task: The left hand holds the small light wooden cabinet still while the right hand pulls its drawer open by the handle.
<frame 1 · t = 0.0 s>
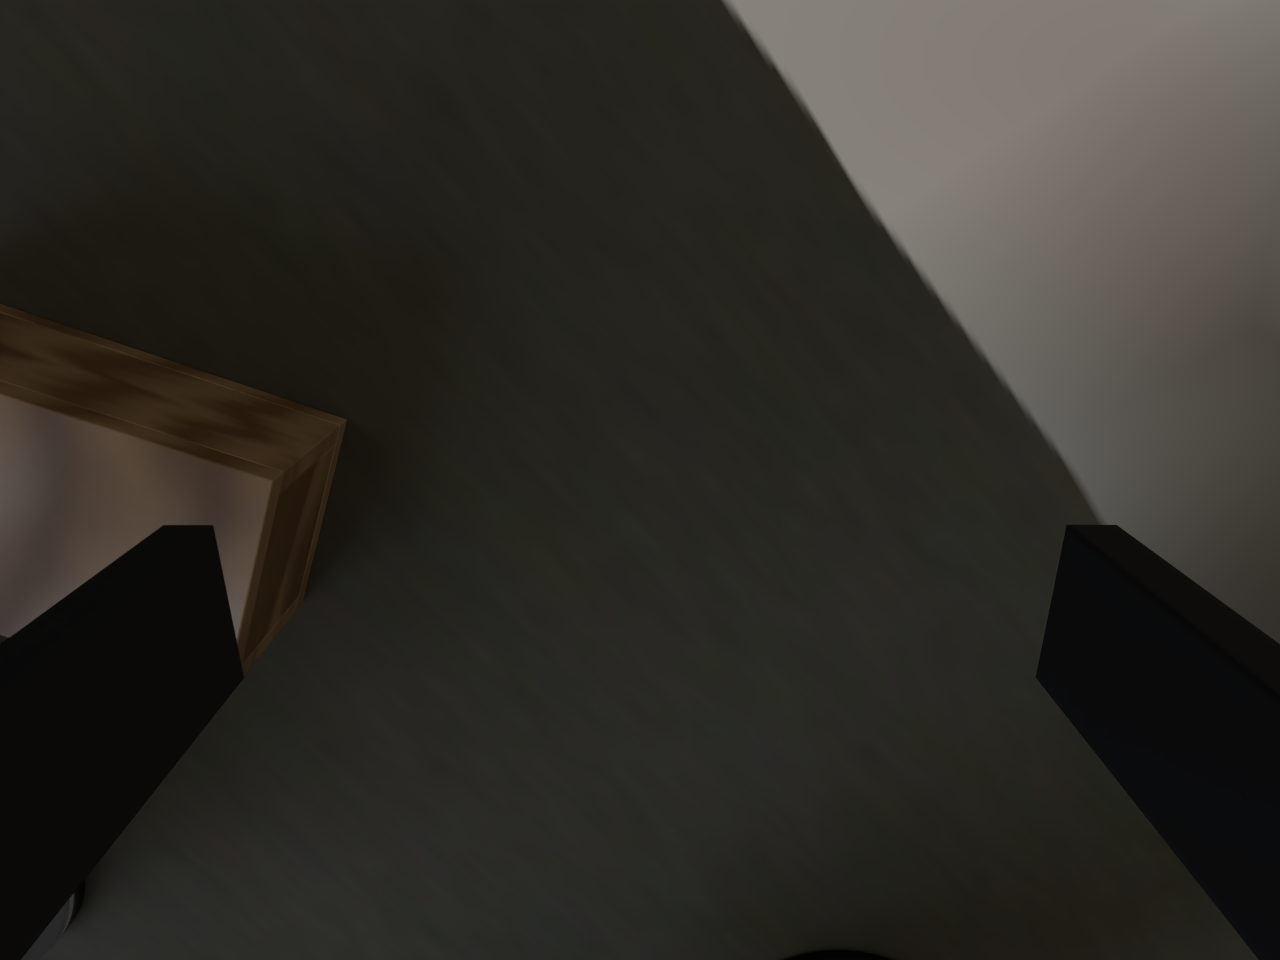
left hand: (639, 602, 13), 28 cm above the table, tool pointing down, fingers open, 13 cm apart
cabinet: (153, 460, 41), on the table
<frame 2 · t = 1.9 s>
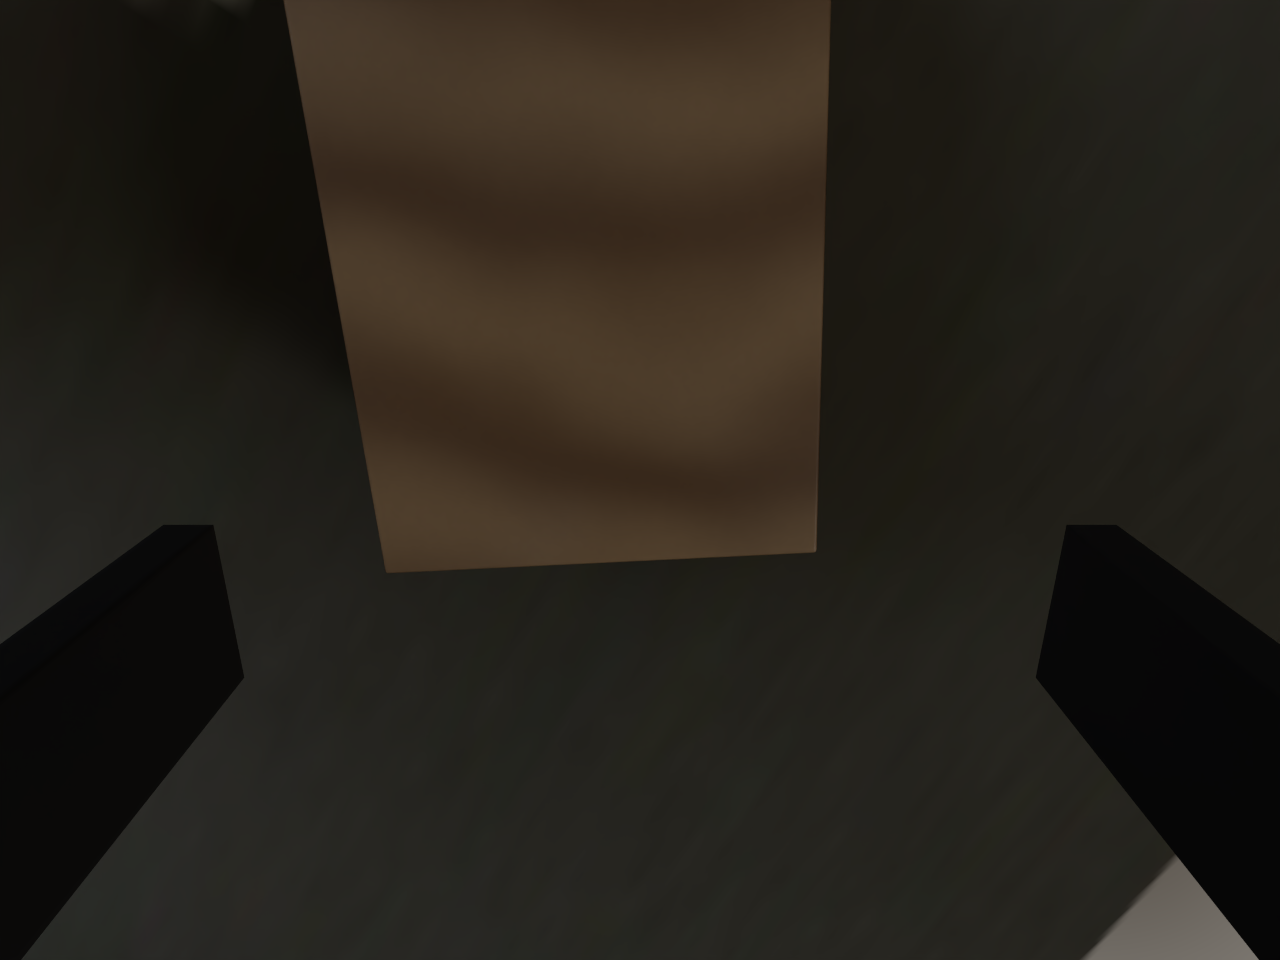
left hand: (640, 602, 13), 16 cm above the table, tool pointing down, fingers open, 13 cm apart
cabinet: (592, 194, 26), on the table
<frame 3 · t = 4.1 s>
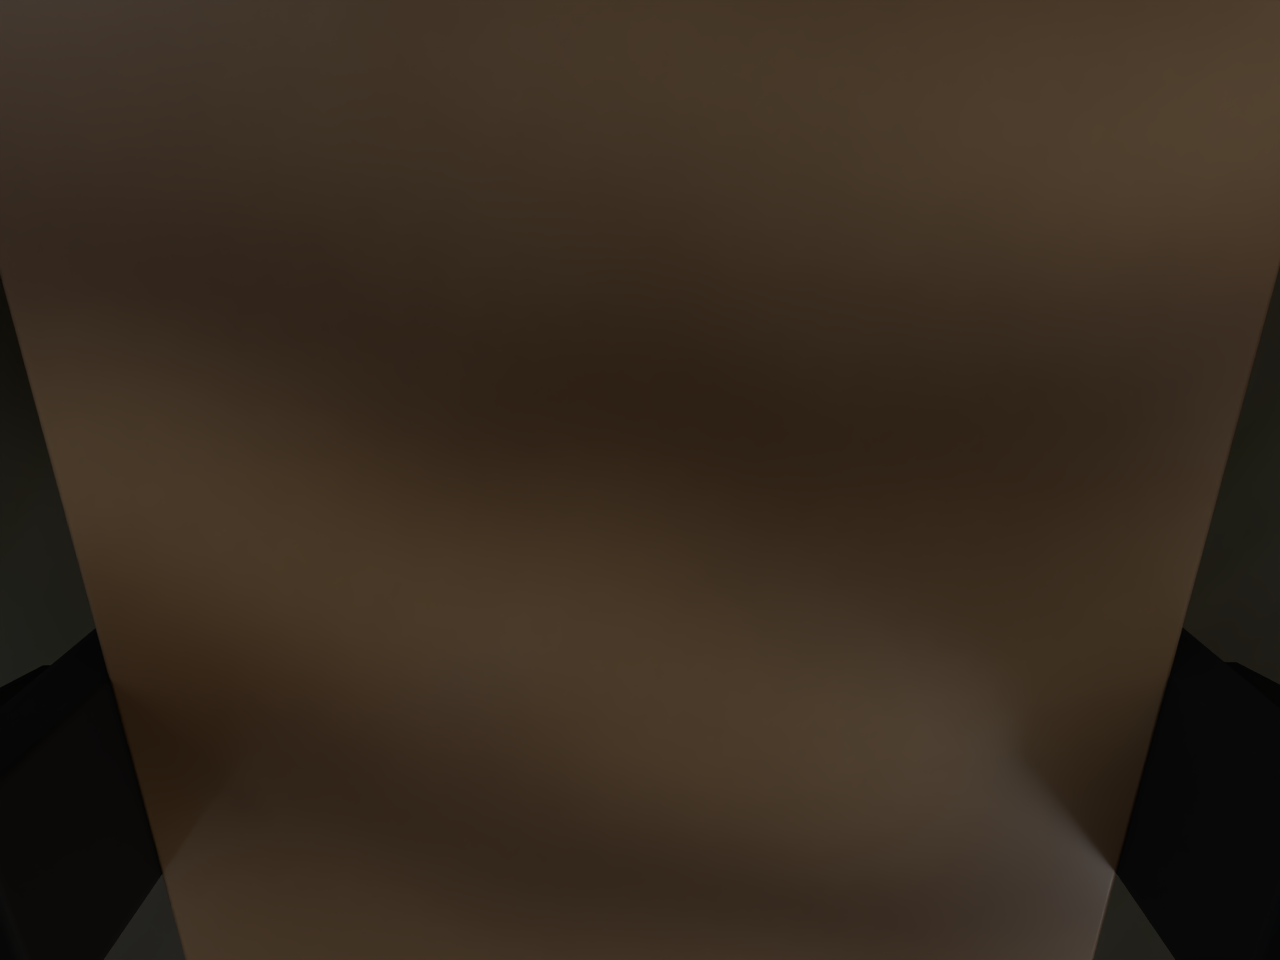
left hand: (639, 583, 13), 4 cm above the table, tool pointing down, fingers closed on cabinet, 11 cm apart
cabinet: (639, 252, 15), on the table, touching left hand
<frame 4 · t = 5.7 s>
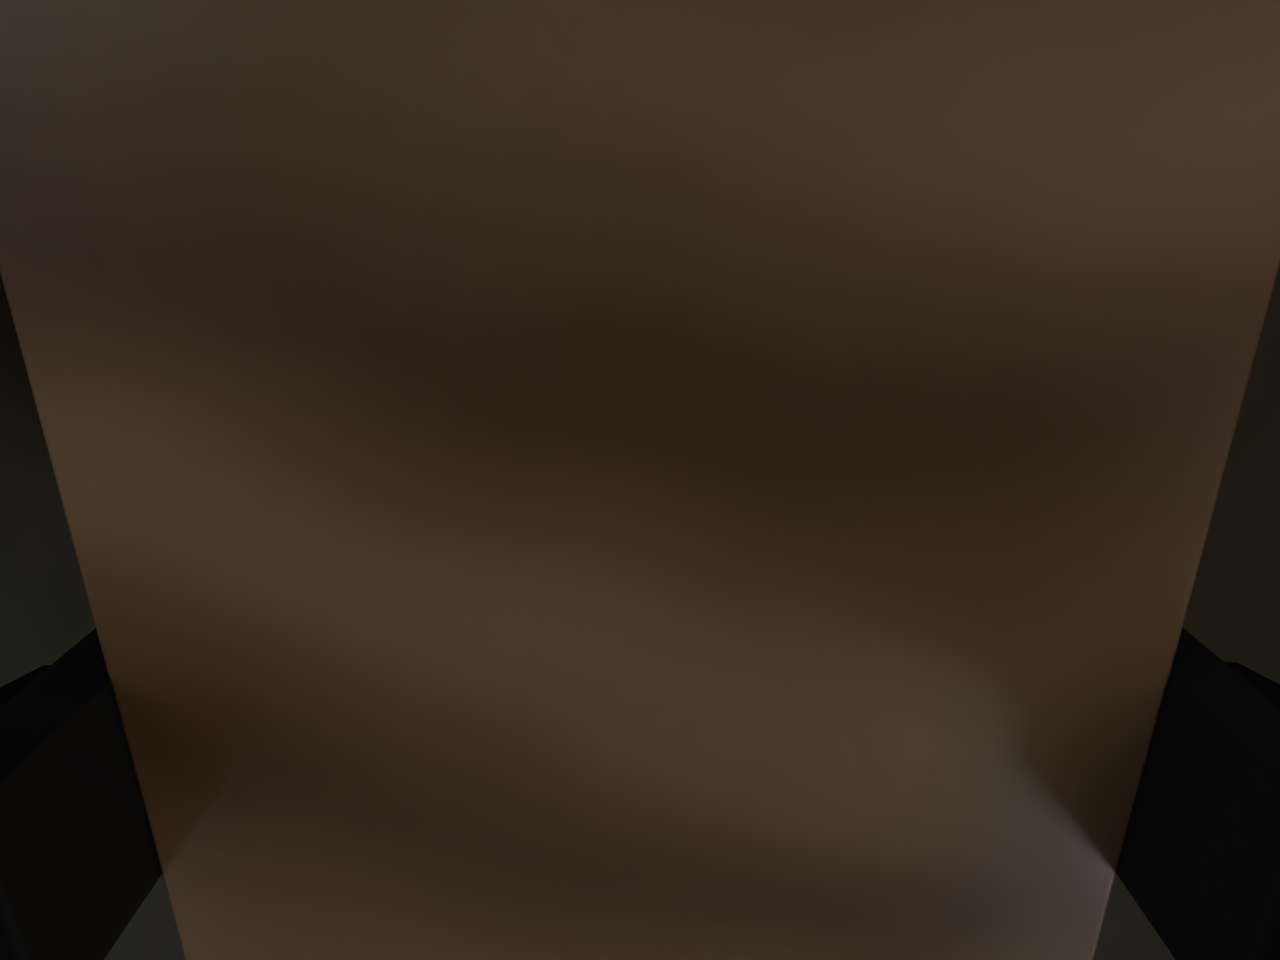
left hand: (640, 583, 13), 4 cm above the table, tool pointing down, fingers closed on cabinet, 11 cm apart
cabinet: (639, 253, 16), on the table, touching left hand
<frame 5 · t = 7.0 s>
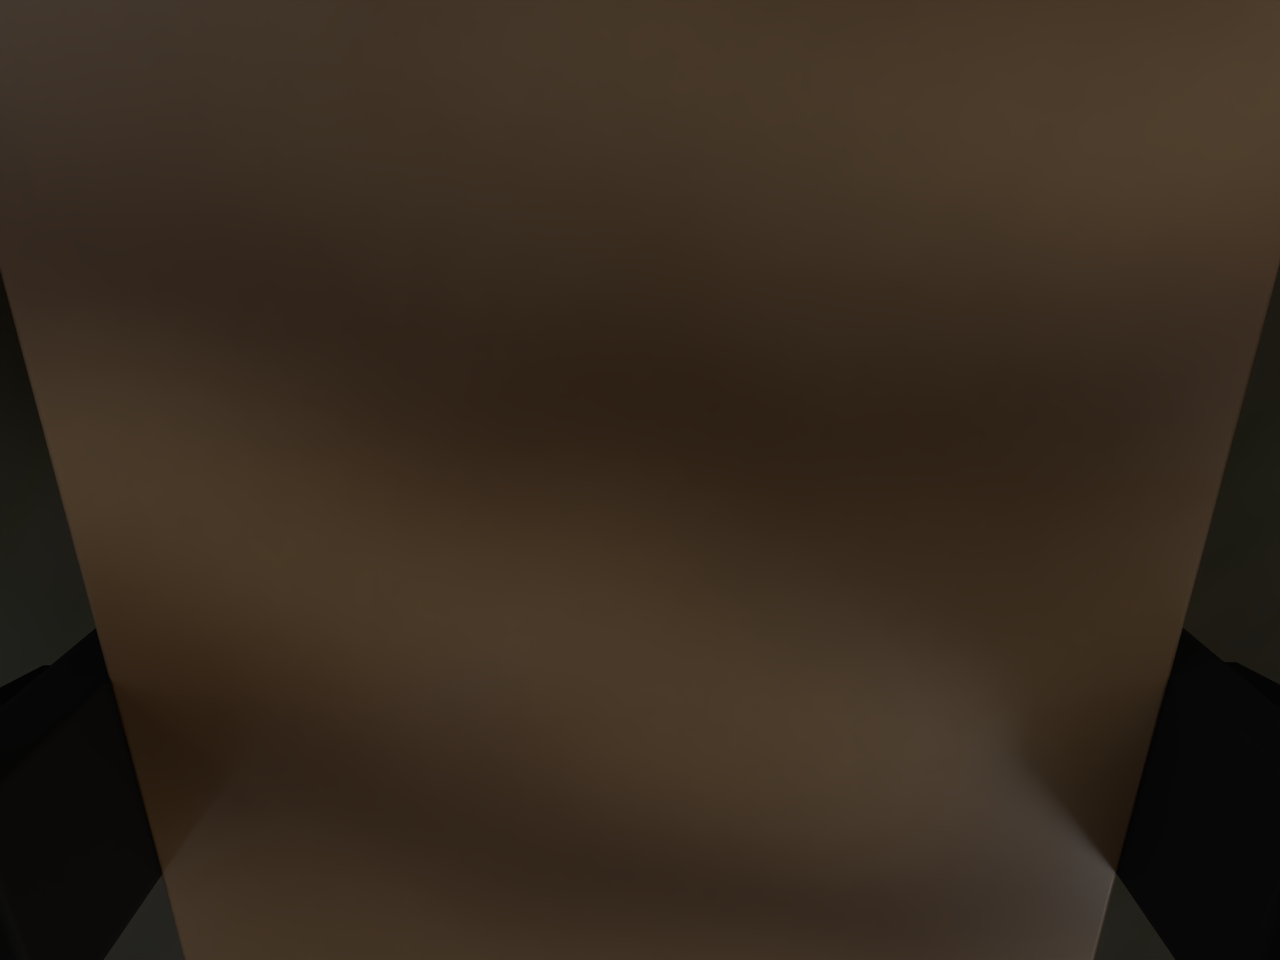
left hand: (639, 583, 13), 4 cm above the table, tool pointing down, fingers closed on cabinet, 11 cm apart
cabinet: (639, 253, 16), on the table, touching left hand
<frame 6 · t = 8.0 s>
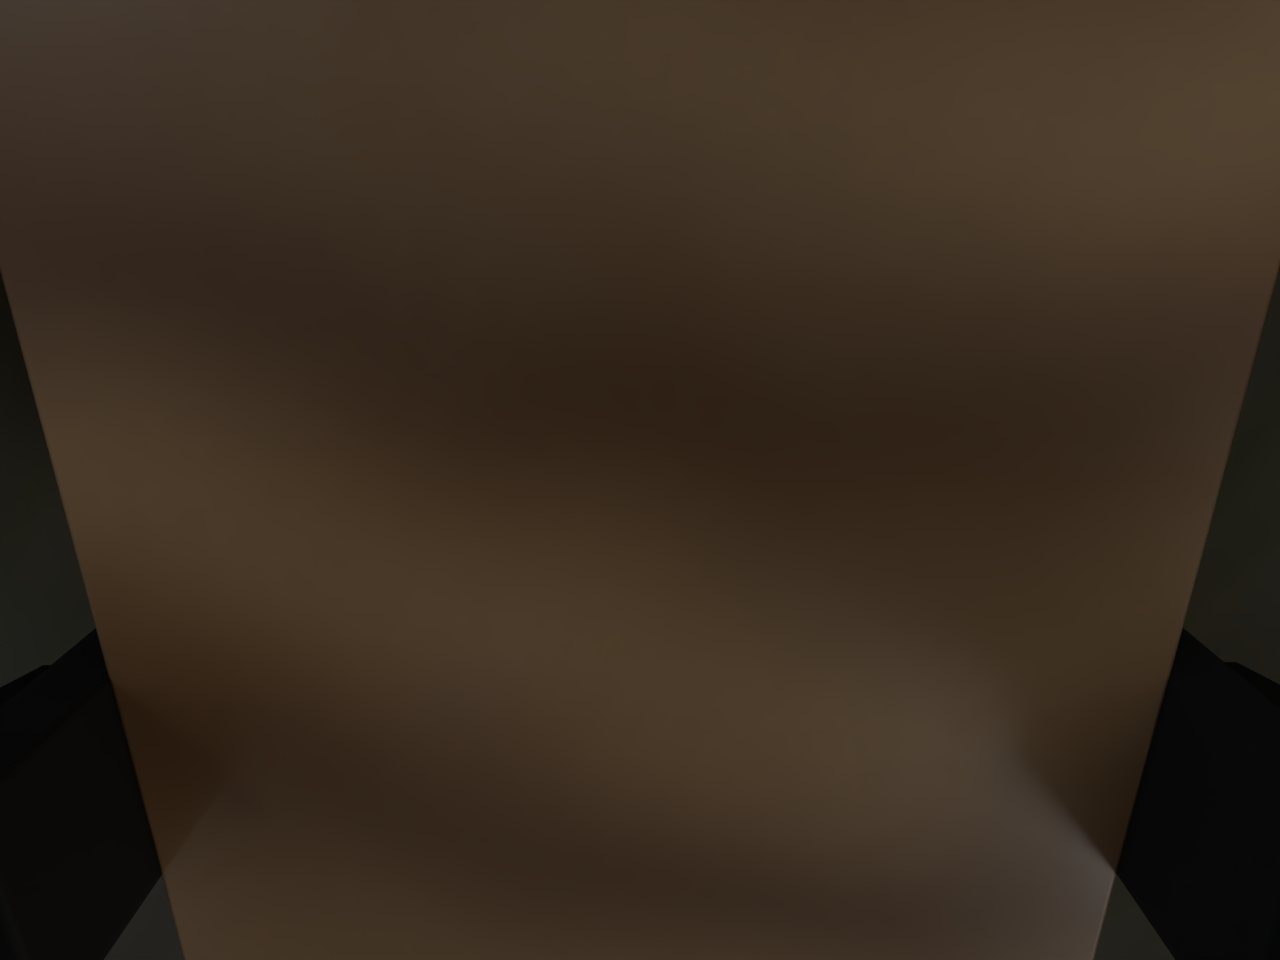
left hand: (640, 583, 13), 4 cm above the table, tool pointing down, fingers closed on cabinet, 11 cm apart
cabinet: (639, 253, 16), on the table, touching left hand
when the left hand's fingers open (4 cm above the table, at t = 8.5 s): cabinet stays where it is, on the table.
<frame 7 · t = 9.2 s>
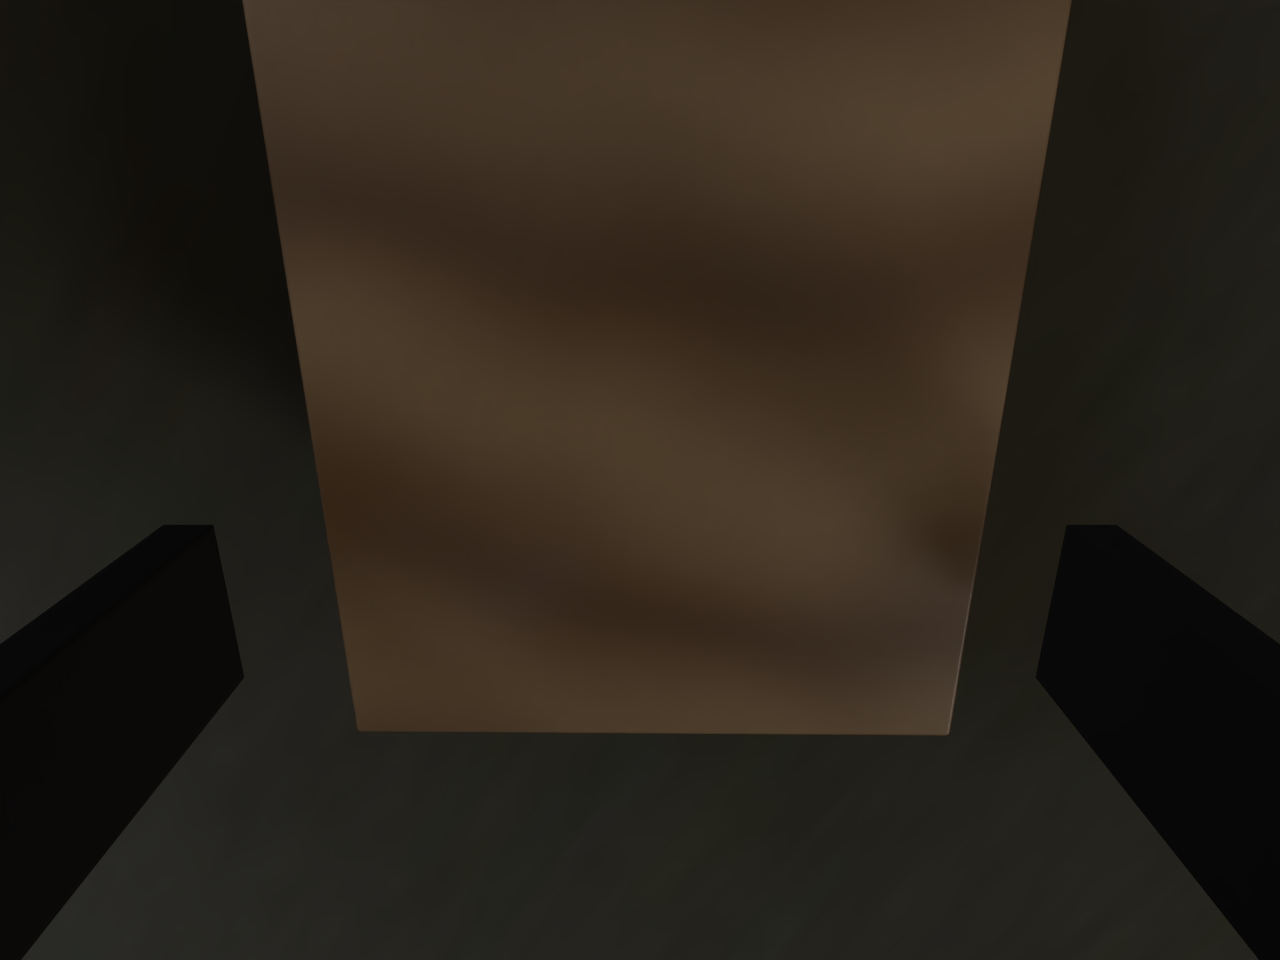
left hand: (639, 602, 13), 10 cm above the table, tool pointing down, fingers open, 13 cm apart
cabinet: (652, 212, 20), on the table
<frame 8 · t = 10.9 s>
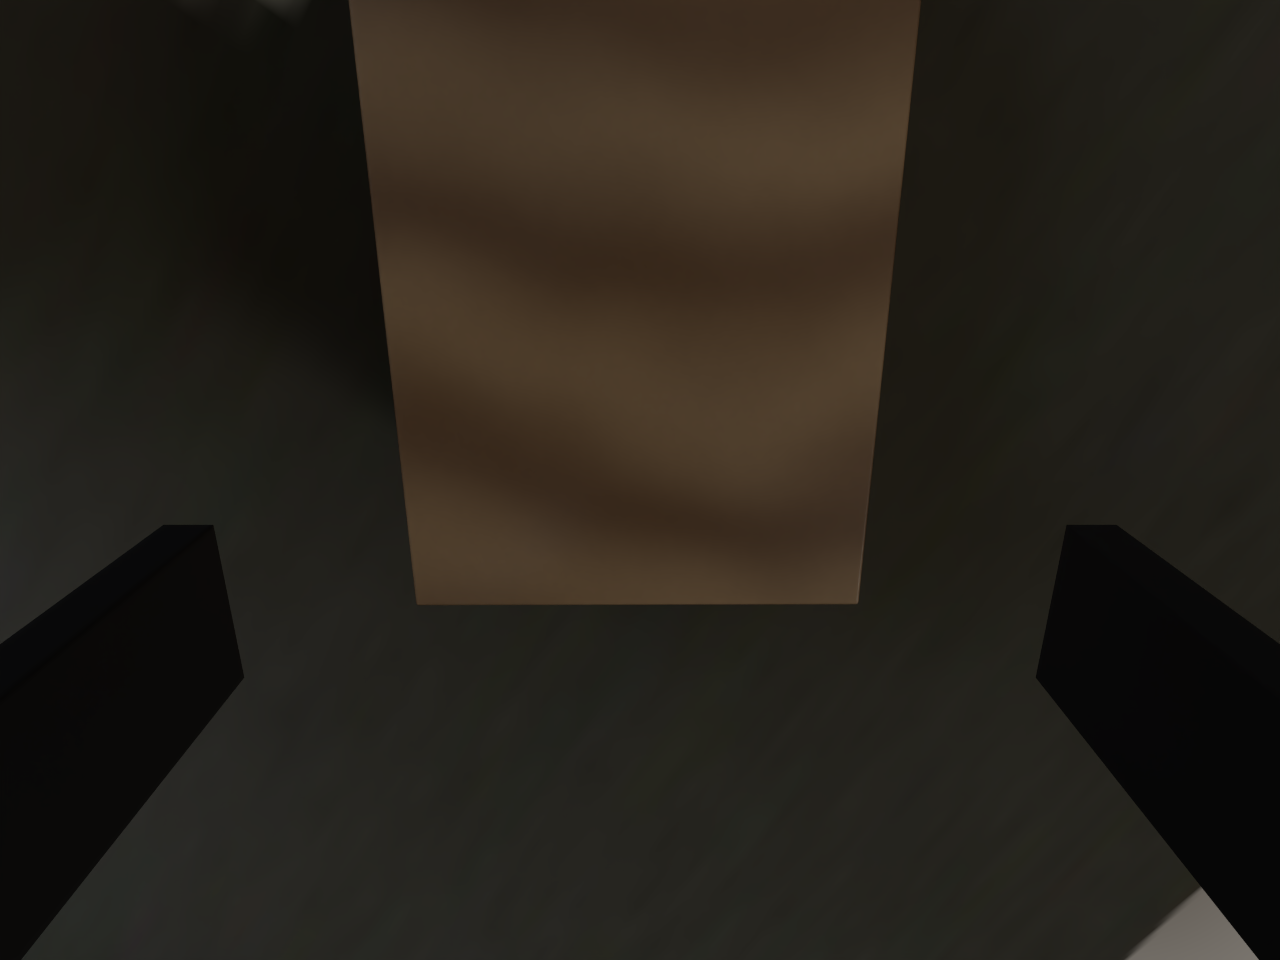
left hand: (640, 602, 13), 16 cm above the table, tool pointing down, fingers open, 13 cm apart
cabinet: (637, 218, 26), on the table
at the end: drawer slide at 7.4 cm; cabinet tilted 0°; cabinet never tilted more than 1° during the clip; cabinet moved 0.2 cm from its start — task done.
